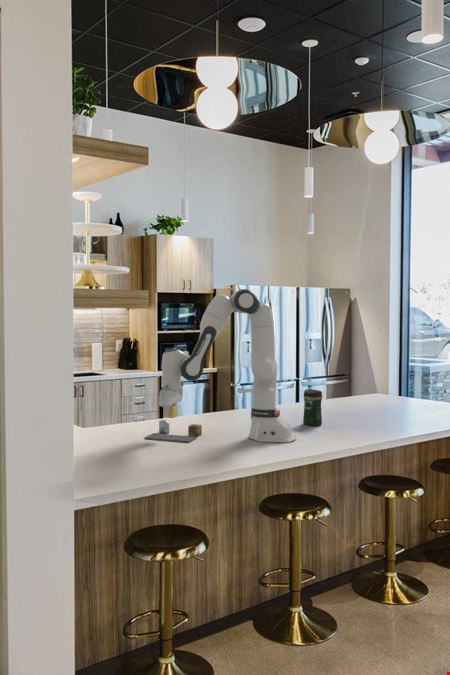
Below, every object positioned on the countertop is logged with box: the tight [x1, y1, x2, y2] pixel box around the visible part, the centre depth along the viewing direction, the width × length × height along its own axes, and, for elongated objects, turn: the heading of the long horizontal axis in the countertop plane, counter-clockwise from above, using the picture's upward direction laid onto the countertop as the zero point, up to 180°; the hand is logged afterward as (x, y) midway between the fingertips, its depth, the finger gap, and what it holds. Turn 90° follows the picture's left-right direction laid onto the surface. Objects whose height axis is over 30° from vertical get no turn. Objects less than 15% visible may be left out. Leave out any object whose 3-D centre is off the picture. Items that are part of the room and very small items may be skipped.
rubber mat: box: [144, 432, 198, 444], centre depth 302 cm, size 22×10×1 cm, turn 72°
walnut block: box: [187, 423, 203, 438], centre depth 310 cm, size 5×5×5 cm
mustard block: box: [162, 405, 178, 419], centre depth 301 cm, size 5×5×5 cm
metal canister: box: [158, 419, 170, 435], centre depth 314 cm, size 5×5×6 cm
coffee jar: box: [302, 389, 323, 427], centre depth 340 cm, size 10×8×19 cm
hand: (170, 413), depth 301 cm, fingers closed on mustard block, 5 cm apart
